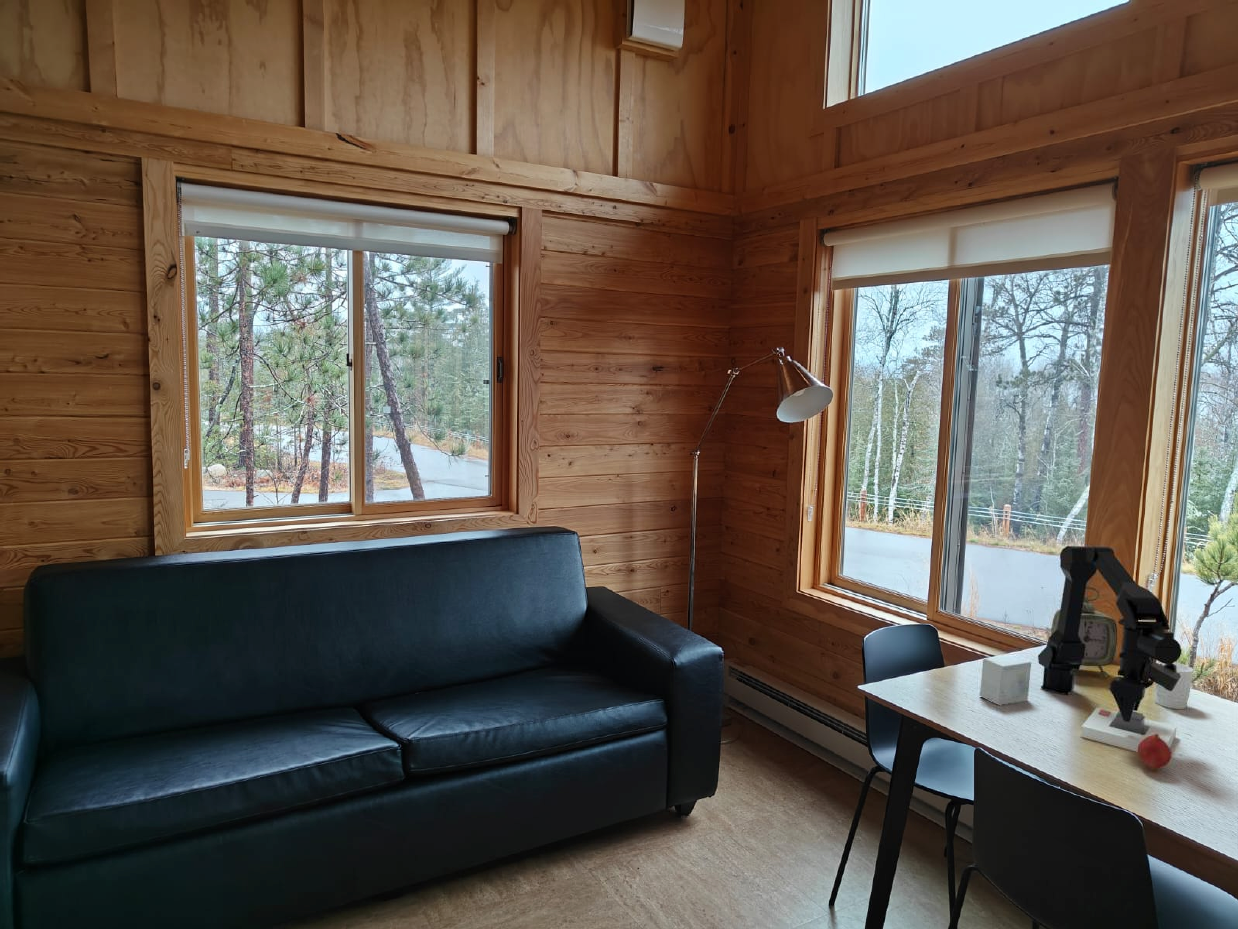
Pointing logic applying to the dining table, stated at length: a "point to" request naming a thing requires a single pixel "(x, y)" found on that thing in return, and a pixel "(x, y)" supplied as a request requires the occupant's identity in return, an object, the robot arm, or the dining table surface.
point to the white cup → (1175, 689)
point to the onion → (1154, 752)
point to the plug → (1131, 723)
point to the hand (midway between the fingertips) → (1130, 716)
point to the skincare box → (1005, 679)
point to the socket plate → (1104, 730)
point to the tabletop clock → (1095, 635)
